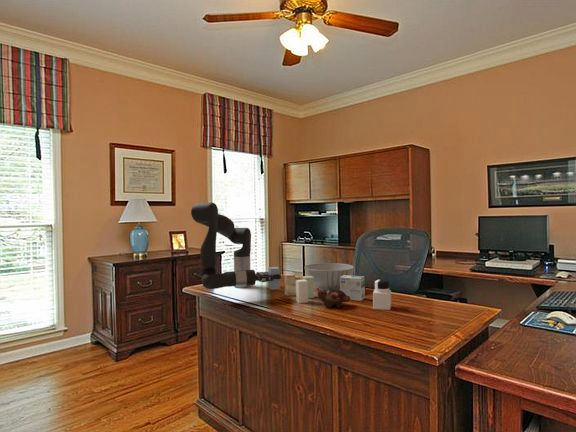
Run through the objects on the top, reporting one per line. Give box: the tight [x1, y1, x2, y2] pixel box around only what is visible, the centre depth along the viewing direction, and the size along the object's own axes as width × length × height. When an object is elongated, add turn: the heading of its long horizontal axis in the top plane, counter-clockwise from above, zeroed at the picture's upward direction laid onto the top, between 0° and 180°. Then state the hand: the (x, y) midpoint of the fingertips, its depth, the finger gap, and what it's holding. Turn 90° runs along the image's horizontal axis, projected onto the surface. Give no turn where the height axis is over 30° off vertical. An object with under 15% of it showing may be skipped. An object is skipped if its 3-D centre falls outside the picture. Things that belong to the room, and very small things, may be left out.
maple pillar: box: [284, 273, 296, 297], centre depth 189 cm, size 4×4×10 cm
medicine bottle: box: [372, 279, 392, 311], centre depth 162 cm, size 7×7×12 cm
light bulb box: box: [340, 275, 366, 302], centre depth 179 cm, size 11×7×11 cm, turn 65°
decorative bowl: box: [304, 262, 355, 291], centre depth 201 cm, size 27×27×12 cm
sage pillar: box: [302, 275, 315, 299], centre depth 183 cm, size 4×4×10 cm
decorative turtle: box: [316, 289, 351, 309], centre depth 165 cm, size 10×15×8 cm, turn 108°
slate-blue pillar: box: [267, 266, 281, 291], centre depth 181 cm, size 4×4×10 cm
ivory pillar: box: [295, 279, 309, 304], centre depth 174 cm, size 4×4×10 cm
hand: (279, 275), depth 181 cm, fingers closed on slate-blue pillar, 4 cm apart
